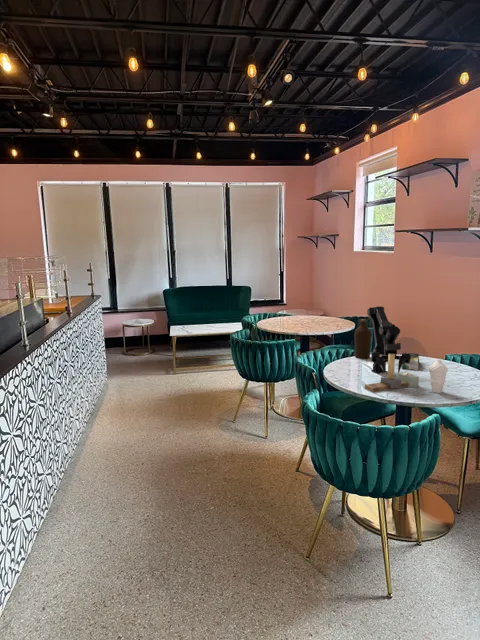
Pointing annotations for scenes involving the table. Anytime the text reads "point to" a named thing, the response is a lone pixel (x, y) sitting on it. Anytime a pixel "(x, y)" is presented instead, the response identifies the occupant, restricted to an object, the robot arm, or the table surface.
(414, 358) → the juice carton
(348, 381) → the table surface
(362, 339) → the olive oil
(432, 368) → the soft serve ice cream cone
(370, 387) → the rail
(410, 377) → the gauge cabinet
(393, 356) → the grey block with handle
